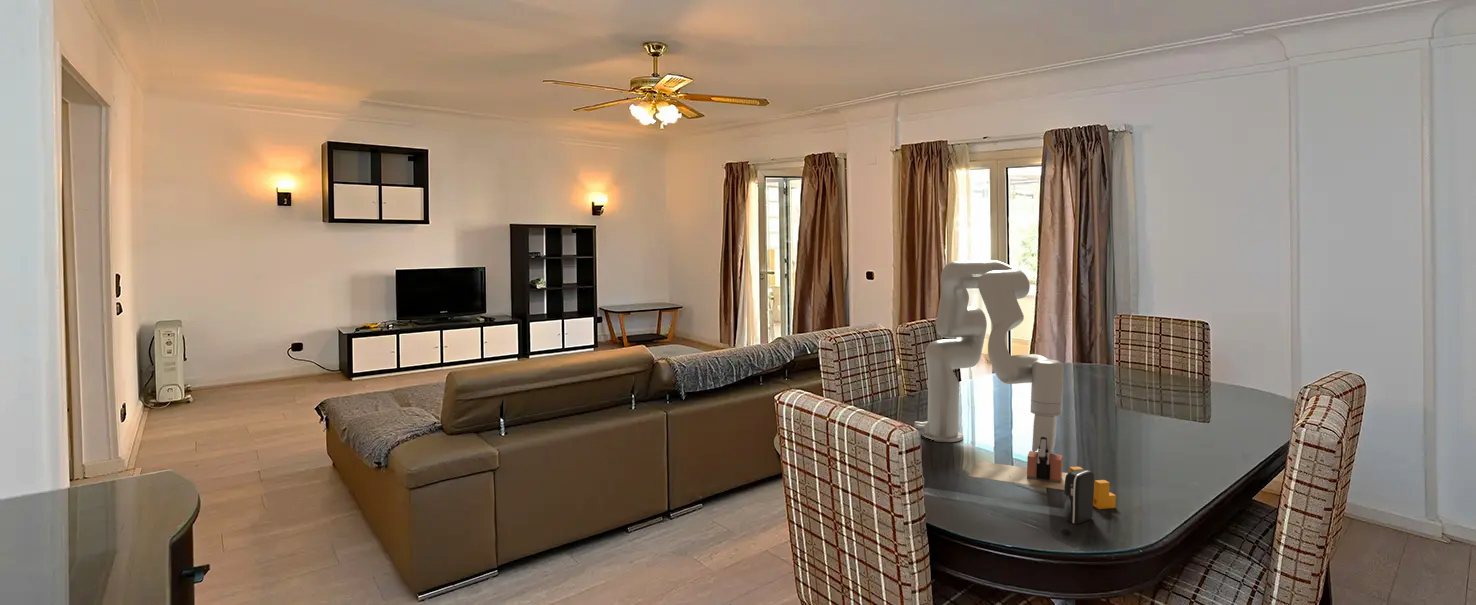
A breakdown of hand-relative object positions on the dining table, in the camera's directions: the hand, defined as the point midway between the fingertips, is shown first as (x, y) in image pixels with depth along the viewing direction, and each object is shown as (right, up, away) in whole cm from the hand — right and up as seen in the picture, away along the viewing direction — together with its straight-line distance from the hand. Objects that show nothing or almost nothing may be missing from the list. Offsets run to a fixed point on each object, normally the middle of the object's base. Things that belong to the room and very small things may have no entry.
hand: (1044, 474), depth 190 cm
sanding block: (0, -1, 0) cm, 1 cm away
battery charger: (-2, -5, -23) cm, 24 cm away
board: (-5, -2, +3) cm, 6 cm away
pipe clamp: (+7, -4, -11) cm, 13 cm away
